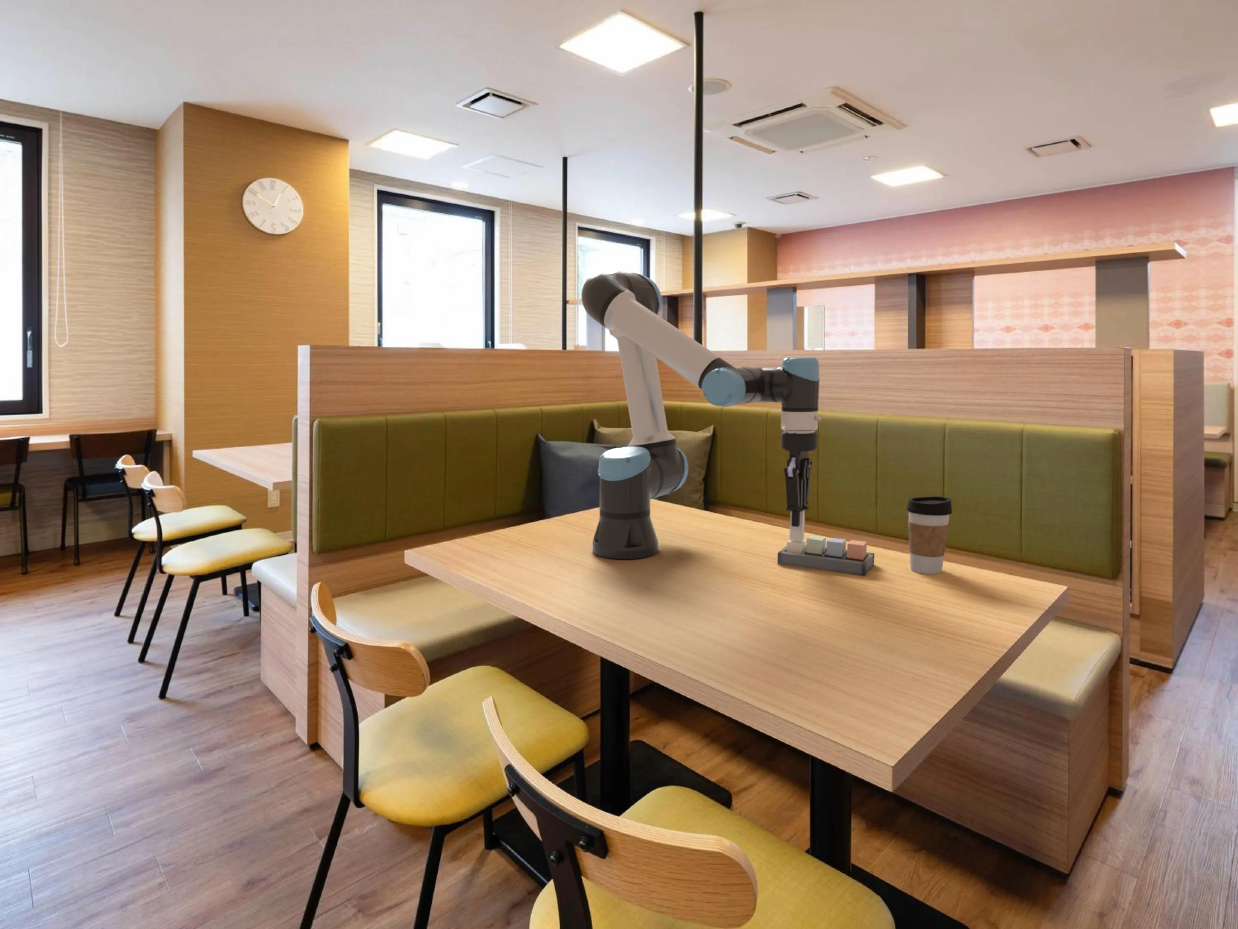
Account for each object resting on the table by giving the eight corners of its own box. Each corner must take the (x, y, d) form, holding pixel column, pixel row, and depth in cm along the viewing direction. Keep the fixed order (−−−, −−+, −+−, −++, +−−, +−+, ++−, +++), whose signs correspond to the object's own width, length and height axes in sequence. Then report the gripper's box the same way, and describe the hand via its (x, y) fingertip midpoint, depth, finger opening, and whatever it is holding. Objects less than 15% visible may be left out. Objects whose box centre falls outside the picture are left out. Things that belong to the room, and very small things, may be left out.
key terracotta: (846, 557, 143) (847, 543, 143) (850, 553, 146) (850, 540, 145) (863, 559, 142) (863, 545, 141) (866, 555, 144) (866, 541, 144)
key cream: (786, 555, 150) (787, 541, 149) (791, 551, 152) (791, 538, 152) (801, 557, 148) (801, 543, 148) (805, 553, 151) (806, 540, 150)
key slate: (826, 555, 145) (826, 541, 145) (830, 551, 148) (830, 537, 148) (841, 557, 144) (842, 543, 143) (845, 553, 146) (846, 539, 146)
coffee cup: (953, 577, 137) (958, 503, 135) (908, 575, 139) (911, 501, 137) (942, 565, 146) (946, 494, 143) (900, 563, 147) (903, 493, 145)
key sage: (806, 552, 147) (806, 538, 147) (810, 548, 150) (810, 535, 150) (821, 554, 146) (821, 540, 145) (825, 550, 148) (825, 537, 148)
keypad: (777, 564, 148) (777, 552, 148) (790, 553, 156) (790, 542, 155) (865, 576, 139) (865, 564, 139) (874, 564, 147) (874, 553, 146)
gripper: (808, 434, 139) (805, 549, 142) (825, 429, 150) (822, 535, 153) (772, 433, 143) (770, 545, 146) (791, 427, 154) (788, 531, 157)
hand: (796, 539), depth 150 cm, fingers closed
